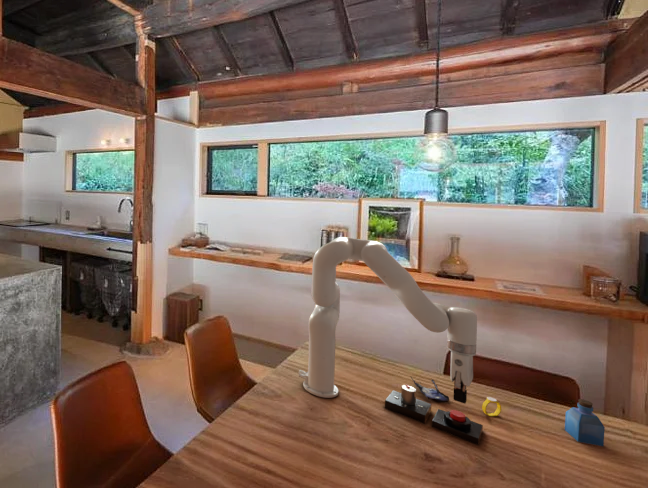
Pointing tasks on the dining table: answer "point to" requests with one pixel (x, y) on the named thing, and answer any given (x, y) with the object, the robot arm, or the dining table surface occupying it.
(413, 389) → the heat knob
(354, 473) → the dining table surface
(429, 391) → the snack package
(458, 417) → the button
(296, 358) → the dining table surface
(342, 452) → the dining table surface
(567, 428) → the perfume bottle
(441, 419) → the button block
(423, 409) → the control panel
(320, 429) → the dining table surface
